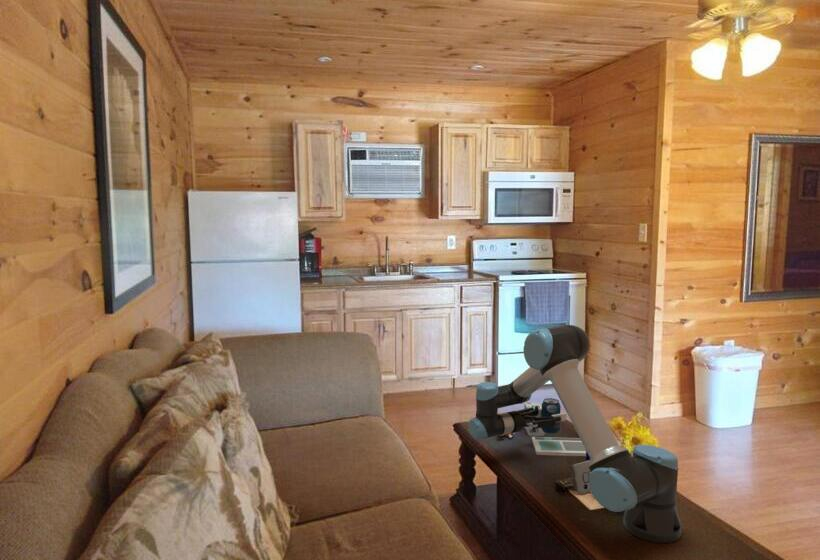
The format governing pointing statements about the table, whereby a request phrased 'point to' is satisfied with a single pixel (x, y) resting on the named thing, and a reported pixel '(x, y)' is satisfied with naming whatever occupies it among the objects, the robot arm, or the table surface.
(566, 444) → the white teal rectangular board
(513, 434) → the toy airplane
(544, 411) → the soda can
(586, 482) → the electrical switch
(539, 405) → the light bulb box
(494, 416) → the robot arm
